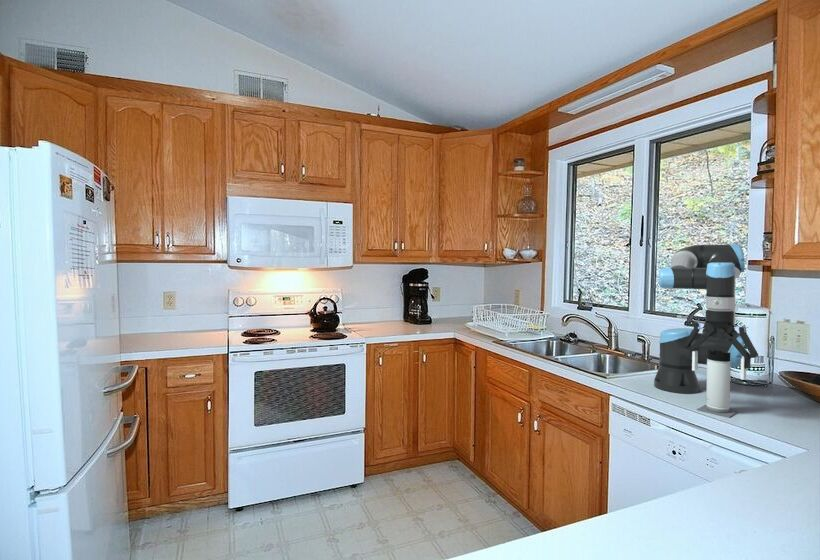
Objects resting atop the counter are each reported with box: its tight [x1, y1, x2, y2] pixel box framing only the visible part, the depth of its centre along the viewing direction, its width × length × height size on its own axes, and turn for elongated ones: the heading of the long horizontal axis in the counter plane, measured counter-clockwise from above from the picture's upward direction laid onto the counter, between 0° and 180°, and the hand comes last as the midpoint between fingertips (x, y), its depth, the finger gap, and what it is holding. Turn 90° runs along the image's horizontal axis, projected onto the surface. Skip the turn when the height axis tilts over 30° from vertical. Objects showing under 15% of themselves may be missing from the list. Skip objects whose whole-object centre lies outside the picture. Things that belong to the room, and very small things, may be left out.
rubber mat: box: [696, 404, 739, 418], centre depth 142 cm, size 8×9×1 cm
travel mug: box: [705, 350, 731, 413], centre depth 142 cm, size 6×7×20 cm
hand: (718, 374), depth 142 cm, fingers open, 13 cm apart
